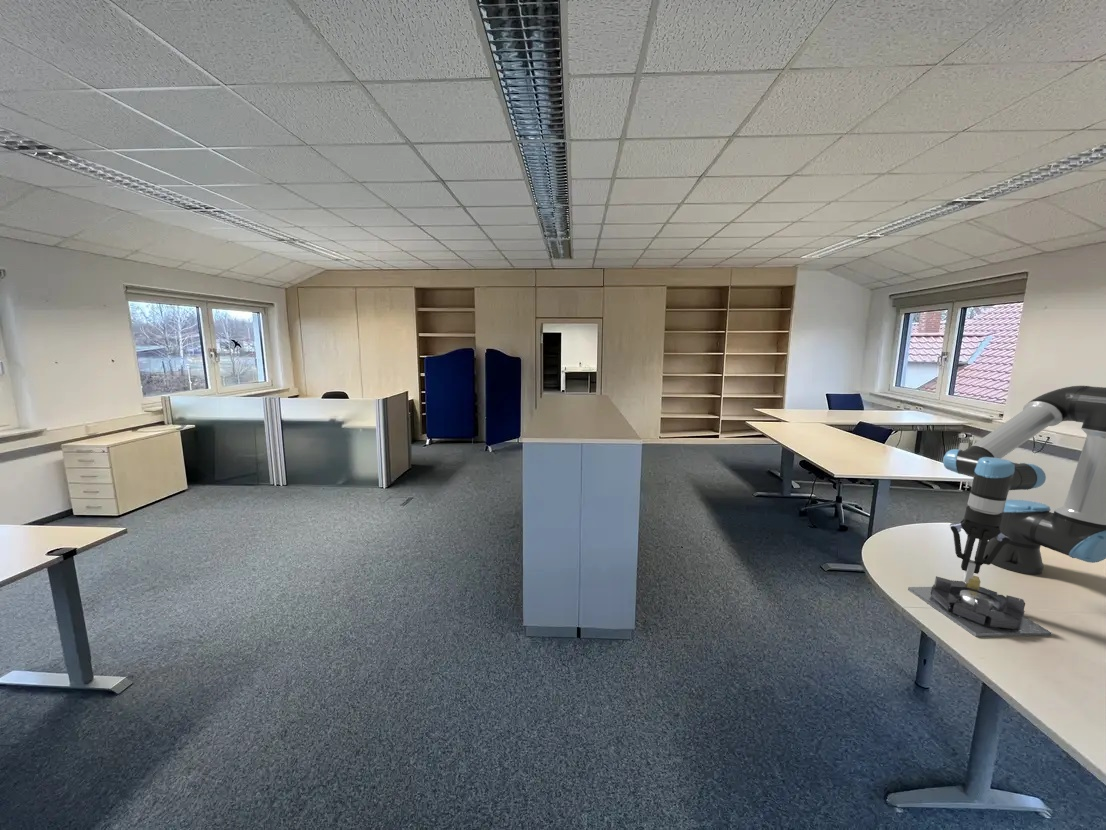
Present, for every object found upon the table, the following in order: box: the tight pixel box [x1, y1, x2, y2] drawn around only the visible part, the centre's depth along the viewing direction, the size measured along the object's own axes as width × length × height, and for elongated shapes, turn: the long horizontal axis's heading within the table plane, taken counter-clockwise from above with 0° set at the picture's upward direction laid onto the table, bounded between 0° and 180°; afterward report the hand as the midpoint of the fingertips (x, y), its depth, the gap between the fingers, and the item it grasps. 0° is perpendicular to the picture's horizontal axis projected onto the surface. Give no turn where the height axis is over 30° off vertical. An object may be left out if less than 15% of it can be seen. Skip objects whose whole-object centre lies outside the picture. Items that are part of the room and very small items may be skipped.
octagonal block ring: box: [931, 574, 1026, 629], centre depth 122 cm, size 18×18×6 cm
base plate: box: [907, 586, 1052, 638], centre depth 122 cm, size 21×21×4 cm
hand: (966, 580), depth 128 cm, fingers closed
